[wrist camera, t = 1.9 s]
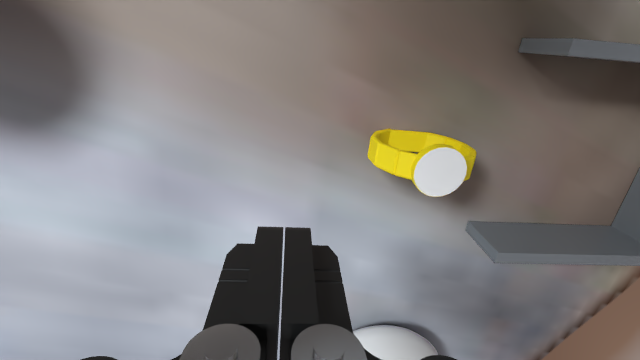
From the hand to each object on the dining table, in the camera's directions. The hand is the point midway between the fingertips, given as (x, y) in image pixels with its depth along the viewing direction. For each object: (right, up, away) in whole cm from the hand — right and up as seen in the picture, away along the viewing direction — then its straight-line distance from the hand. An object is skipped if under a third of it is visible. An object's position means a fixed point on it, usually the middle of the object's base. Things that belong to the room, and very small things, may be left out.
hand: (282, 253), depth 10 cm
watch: (+7, +5, +13) cm, 15 cm away
